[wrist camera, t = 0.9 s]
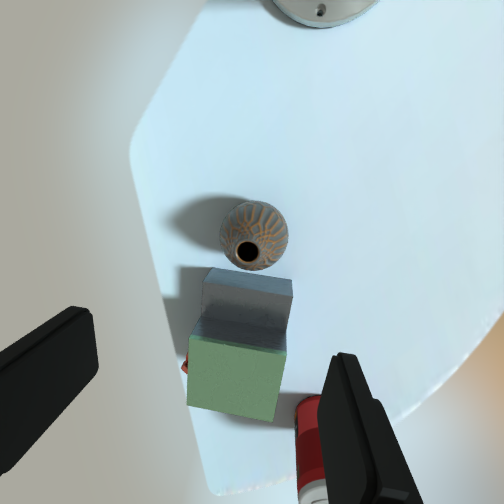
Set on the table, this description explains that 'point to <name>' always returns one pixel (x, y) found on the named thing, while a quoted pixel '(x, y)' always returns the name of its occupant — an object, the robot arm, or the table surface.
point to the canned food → (309, 454)
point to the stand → (239, 344)
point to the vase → (254, 235)
